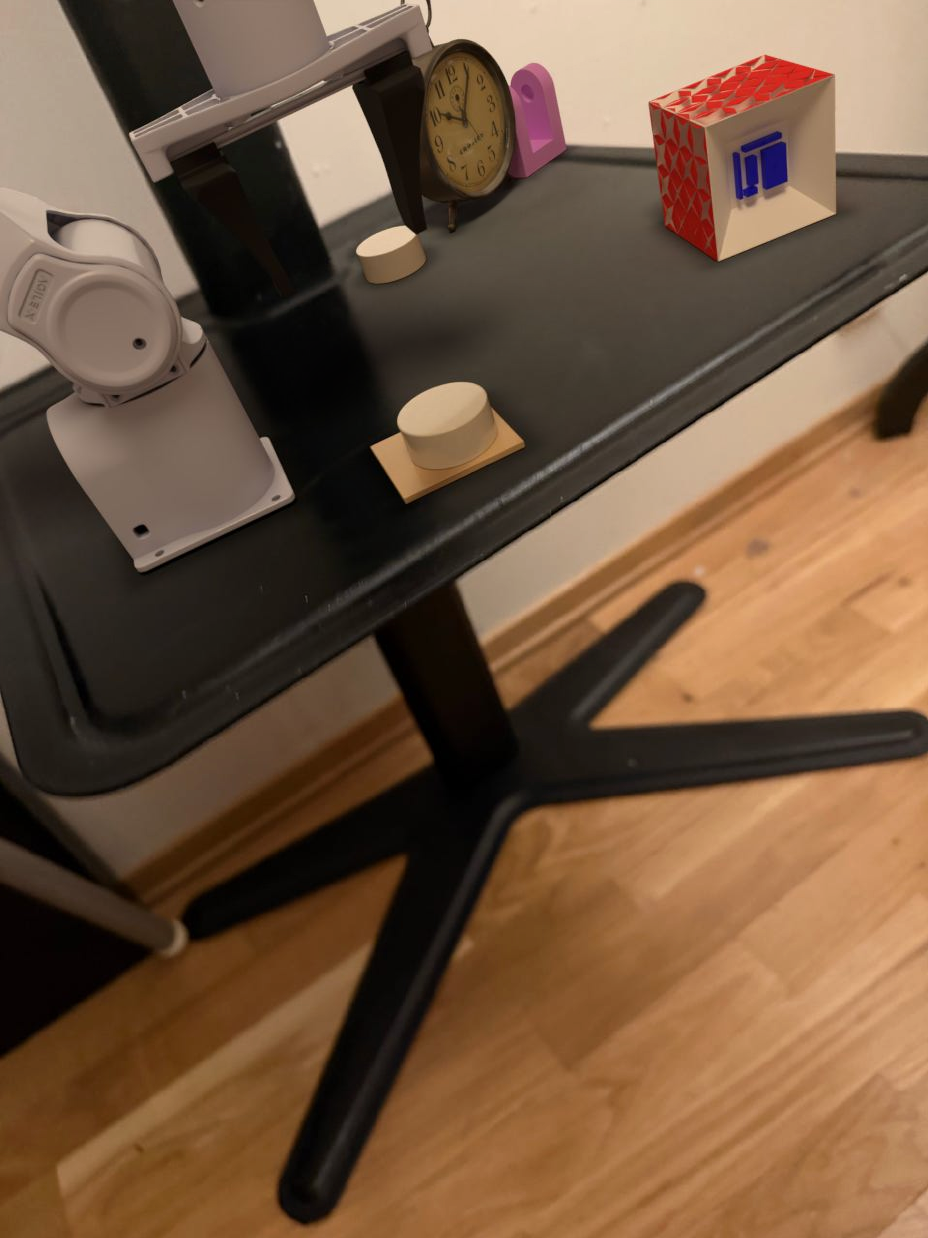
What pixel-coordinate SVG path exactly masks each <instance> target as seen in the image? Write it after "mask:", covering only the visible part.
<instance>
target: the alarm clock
mask: <svg viewBox="0 0 928 1238" xmlns="http://www.w3.org/2000/svg"><path fill="white" fill-rule="evenodd" d="M425 2H426V6H427V21H426V23H425V26H426V29H427V32H428V35H429V39H430V42H431V45H432V49H433V50H432V51H431V52H429V53H427V54H425V55H423V56H421V57H419V58H416V59H412V62H413V65H414V66H417V67H419V68H421V71H422V74H423V78H424V83H425V98H424V105H423V112H422V122H421V134H420V179H421V191H422V197H423V198H425V199H427V200H429V201H432V202H434V203H438V204H439V203H440V204H448V205H447V207H448V208H447V214H448V225H447V230H448V232H454V231H456V225H455V221H456V218H457V215H458V214H457V213H458V204H459V203H462V202H469V201H471V202H472V201H474V202H475V201H480V200H484V199H486V198H488V197H490V196H491V195H492V194H494V193H495V192H496V191H497V190H498V189H499V187H500V186H502V184H503V182H504V180H505V179H506V181H508V183H510V184H511V183H514V182H515V177H513V175H510V174H509V173H508V170H509V168H510V165H511V161H512V157H513V153H514V148H515V139H516V121H515V111H514V105H513V100H512V96H511V92H510V89H509V86H510V85H509V83H508V80H507V79H506V76H505V74H504V72H503V69H502V68H501V67H500V65H499V64H498V62H497V61H496V59H495V57H493V55H492V54H491V53H490V52H489V51H488V50H487V49H486V48H485V47H483V46H482V45H481V44H479V43H478V42H476V41H474V40H471V39H468V38H467V39H466V38H457V39H451V40H450V41H447V42H444V43H440V44H436V45H434V43H433V40H432V38H431V36H430V34H429V33H430V30H429V28H430V26H431V24H432V18H433V12H432V10H433V9H432V3H431V2H432V1H431V0H425ZM405 3H406V0H400V5H402V4H405ZM508 85H509V86H508Z"/></svg>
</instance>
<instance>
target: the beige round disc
mask: <svg viewBox="0 0 928 1238" xmlns="http://www.w3.org/2000/svg"><path fill="white" fill-rule="evenodd" d="M422 243H423V242H422V240H421V237H420V233H419V234H417V235H416V234H415V233H413V232H412V231H411V230H410V229H409V228H407V227H406V226H405V225H399V226H394V227H393V226H392V227H390V228H386V229H383V230H381V231H379V232H377V233H375V234H372V235H371V236H369V237H367V238H366V239H364V240H363V241H362V242H361V243H360V244H359V245H358V246H357V247H356V250H355V253H356V256H357V259H358V261H359V264H360V266H361V269H362V272H363V274H364V278H365V280H366V281H367V282H368V283H371V284H376V285H377V284H379V285H381V284H387V283H393V282H395V281H398V280H402V279H404V278H406V277H408V276H410V275H412V274H414V273H415V272H417V271H418V270H419V269H421V268H422V267H423V266H424V264H425V263H426V261H427V256H426V252H425V249H424V246H423V244H422Z"/></svg>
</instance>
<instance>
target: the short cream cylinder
mask: <svg viewBox="0 0 928 1238" xmlns="http://www.w3.org/2000/svg"><path fill="white" fill-rule="evenodd" d="M491 408H492V406H491V401H490V399H489V396H488V393H487V391H486V390H485V389H484V387H482V386H481V385H479V384H477V383H474V382H470V381H469V382H468V381H455V382H448V383H444V384H440V385H437V386H434V387H431V388H428V389H427V390H424V391H423V392H421V393H419V394H417V395H416V396H415V397H413V398H412V399H410V400H409V401H408V402H406V404H405V405H404V406H403V407H402V408H401V410H400V411H399V412H398V415H397V418H396V425H397V428H398V431H399V433H401V436H402V438H403V441H404V444H405V446H406V449H407V451H408V454H409V456H410V458H411V460H412V461H413V463H414V464H416V465H417V466H419V467H421V468H425V469H431V470H441V469H448V468H453V467H456V466H459V465H462V464H465V463H467V462H469V461H471V460H473V459H475V458H477V457H478V456H480V455H481V454H483V453H484V452H485V451H486V450H487V449H488V448H489V447H490V446H491V445H492V444H493V442H494V440H495V439H496V436H497V425H496V422H495V419H494V415H493V412H492V409H493V408H492V409H491Z"/></svg>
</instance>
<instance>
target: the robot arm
mask: <svg viewBox="0 0 928 1238" xmlns="http://www.w3.org/2000/svg"><path fill="white" fill-rule="evenodd" d="M172 2H173V4H174V7H175V9H176V12H177V13H178V15H179V17H180V19H181V23H182V24H183V26H184V28H185V30H186V33H187V35H188V37H189V39H190V41H191V43H192V46H193V48H194V49H195V52H196V54H197V56H198V58H199V61H200V63H201V65H202V67H203V69H204V71H205V74H206V76H207V78H208V80H209V82H210V85H211V86H212V89H210V90H208V91H206V92H204V93H203V94H200V95H199V96H197V97H195V98H193V99H192V100H190V101H188V102H186V103H184V104H182V105H181V106H179V107H177V108H175V109H173V110H172V111H169V112H168V113H166V114H165V115H163V116H161V117H158V118H157V119H155V120H152V121H151V122H149V123H147V124H145V125H143V126H141V127H139V128H137V129H135V130H132V131H131V132H129V134H128V137H129V138H130V139H129V140H130V142H131V143H132V146H133V147H134V149H135V151H136V153H137V154H138V156H139V159H140V161H141V162H142V164H143V165H144V167H145V169H146V172H147V174H148V175H149V177H150V179H151V180H152V182H153V183H158V182H160V181H162V180H163V179H166V178H168V177H170V176H172V175H173V174H174V173H175V175H176V177H177V178H178V181H179V183H180V185H181V186H182V189H183V190H184V191H185V192H186V193H187V194H188V195H189V196H190V197H191V198H192V199H193V200H194V201H195V202H196V203H197V204H199V205H200V206H201V207H202V208H204V210H205V211H207V212H208V213H209V214H210V215H211V216H213V217H214V218H215V219H216V220H217V221H218V222H219V223H220V224H221V225H222V226H223V227H224V228H226V229H227V230H228V231H229V232H230V233H231V234H232V235H233V236H234V237H235V238H236V239H237V240H238V241H239V242H240V243H241V244H242V246H243V247H244V248H245V249H246V250H247V251H248V252H249V253H250V254H251V255H252V256H253V258H254V259H255V260H256V261H257V263H259V264H258V265H260V266H261V267H262V269H263V270H264V271H265V272H266V274H267V275H268V277H269V278H270V279H271V281H272V283H273V285H274V287H275V289H276V290H277V293H278V294H279V295H280V296H281V298H282V300H285V299H287V298H289V297H292V296H294V295H296V291H295V289H294V287H293V284H292V283H291V279H290V277H289V276H288V274H287V272H286V270H285V269H284V267H283V265H282V264H281V262H280V260H279V258H278V257H277V255H276V253H275V252H274V250H273V248H272V246H271V245H270V243H269V241H268V239H267V237H266V235H265V234H264V232H263V229H262V226H261V225H260V222H259V220H258V218H257V216H256V214H255V212H254V209H253V207H252V205H251V203H250V200H249V198H248V196H247V193H246V192H245V189H244V187H243V185H242V183H241V181H240V178H239V176H238V173H237V172H236V171H235V169H234V168H233V167H232V165H231V163H230V161H229V159H228V157H227V155H226V154H225V153H224V152H223V150H222V149H221V148H224V147H225V146H227V145H229V144H231V143H234V142H235V141H238V140H240V139H242V138H245V137H246V136H249V135H251V134H252V133H255V132H257V131H260V130H261V129H263V128H265V127H267V126H270V125H271V124H274V123H276V122H278V121H280V120H282V119H284V118H286V117H289V116H290V115H293V114H295V113H297V112H299V111H301V110H303V109H305V108H308V107H310V106H312V105H314V104H316V103H318V102H320V101H322V100H324V99H326V98H329V97H331V96H333V95H335V94H337V93H340V92H342V91H343V90H345V89H347V88H349V87H351V89H352V91H353V94H354V96H355V98H356V100H357V102H358V104H359V107H360V109H361V112H362V113H363V114H362V115H363V116H364V119H365V120H366V123H367V125H368V127H369V130H370V132H371V135H372V137H373V140H374V142H375V144H376V147H377V149H378V152H379V155H380V157H381V160H382V163H383V166H384V169H385V173H386V175H387V179H388V183H389V186H390V188H391V191H392V192H391V193H392V195H393V198H394V201H395V205H396V208H397V210H398V213H399V215H400V217H401V219H402V222H403V224H404V225H403V226H406V227H407V228H409V229H410V230H411V231H412V232H413V233H415V234H416V235H417V234H419V235H420V234H421V233H423V232H426V231H427V230H428V224H427V219H426V216H425V210H424V201H423V196H422V191H421V179H420V134H421V122H422V112H423V105H424V98H425V83H424V78H423V74H422V71H421V68H419V67H417V66H414V65H413V62H412V59H416V58H419V57H421V56H423V55H425V54H427V53H429V52H431V51H432V50H433V49H432V45H431V42H430V39H429V36H430V34H429V35H428V32H427V29H426V26H425V25H426V22H425V19H424V16H423V13H422V9H421V6H420V5H419V4H415V3H409V2H405V4H402V5H401V4H400V5H398V6H395V7H394V8H392V9H389V10H387V11H384V12H382V13H380V14H378V15H375V16H373V17H370V18H368V19H365V20H363V21H360V22H358V23H355V24H353V25H351V26H348V27H345V28H343V29H341V30H338V31H336V32H332V33H331V34H328V35H327V33H326V29H325V28H324V25H323V21H322V19H321V16H320V14H319V11H318V9H317V5H316V3H315V1H314V0H172ZM321 82H322V83H321ZM319 83H320V84H319ZM262 110H263V111H262ZM259 111H260V112H259ZM257 112H259V113H257ZM254 113H256V114H255V115H253V116H252V114H254ZM179 309H180V308H179V307H178V304H177V302H176V300H175V298H174V296H173V295H172V293H171V292H170V291H169V289H168V288H167V286H166V284H165V282H164V279H163V275H162V269H161V265H160V262H159V259H158V257H157V255H156V253H155V251H154V249H153V247H152V246H151V245H150V243H149V242H148V240H146V238H145V237H144V236H143V235H142V234H141V233H140V232H139V231H137V229H136V228H134V227H133V226H131V225H130V224H128V223H127V222H124V220H121V219H119V218H116V217H113V216H111V215H107V214H103V213H95V212H94V213H93V212H74V211H68V210H65V209H61V208H59V207H56V206H54V205H52V204H51V203H48V202H46V201H45V200H42V199H41V198H39V197H36V196H34V195H32V194H29V193H25V192H22V191H18V190H16V189H12V188H8V187H4V186H0V332H2V333H5V334H7V335H10V336H12V337H14V338H16V339H19V340H20V341H23V342H25V343H26V344H28V345H29V346H31V347H33V348H34V349H35V350H37V352H39V354H42V355H43V356H44V357H45V359H46V361H48V362H49V363H50V365H52V367H54V368H55V370H56V371H57V372H58V373H60V374H61V376H63V377H64V378H66V379H67V380H68V381H70V382H72V387H71V388H72V390H73V392H72V393H71V394H70V395H68V396H67V397H65V398H64V399H62V400H60V401H58V402H56V403H55V404H52V406H50V407H49V408H48V409H47V410H46V422H47V424H48V428H49V431H50V434H51V436H52V438H53V439H52V440H53V441H54V443H55V445H56V447H57V449H58V451H59V453H60V455H61V456H62V458H63V460H64V462H65V464H66V466H67V467H68V469H69V471H70V472H71V474H72V475H73V477H74V478H75V480H76V482H77V483H78V484H79V485H80V487H81V488H82V490H83V491H84V492H85V494H86V495H87V497H88V498H89V500H90V501H91V503H92V504H93V505H94V506H95V508H96V509H97V511H98V512H99V514H100V515H101V516H102V518H103V519H104V521H105V522H106V523H107V525H108V527H109V528H110V529H111V531H112V532H113V533H114V535H115V536H116V537H117V539H118V540H119V541H120V543H121V545H122V547H124V549H125V550H126V551H127V553H128V554H129V556H130V557H131V558H132V560H133V565H134V568H135V569H136V571H137V572H138V573H146V572H148V571H150V570H152V569H155V568H157V567H159V566H161V565H163V564H165V563H167V562H169V561H171V560H174V559H176V558H178V557H180V556H181V555H184V554H186V553H188V552H190V551H193V550H194V549H196V548H199V547H201V546H203V545H206V544H207V543H209V542H212V541H213V540H215V539H217V538H220V537H221V536H222V537H223V536H224V535H226V534H228V533H230V532H232V531H235V530H236V529H237V530H238V528H241V527H243V526H245V525H247V524H249V523H251V522H253V521H256V520H258V519H260V518H262V517H264V516H266V515H269V514H271V513H272V512H274V511H277V510H278V509H279V510H280V509H281V508H283V507H285V506H287V505H289V504H291V503H292V502H294V500H295V498H296V494H295V492H294V490H293V488H292V485H291V483H290V481H289V479H288V476H287V474H286V472H285V470H284V467H283V465H282V464H281V461H280V459H279V457H278V455H277V452H276V450H275V448H274V445H273V443H272V442H271V440H270V437H267V436H262V437H259V434H258V433H257V430H256V429H255V427H254V425H253V423H252V421H251V419H250V418H249V416H248V414H247V412H246V409H245V408H244V406H243V404H242V401H241V400H240V398H239V396H238V395H237V393H236V390H235V389H234V386H233V385H232V382H231V380H230V379H229V377H228V375H227V373H226V371H225V370H224V368H223V365H222V364H221V362H220V360H219V358H218V356H217V354H216V352H215V350H214V349H213V346H212V345H211V342H210V340H209V338H208V337H207V335H206V333H205V331H204V330H203V327H202V326H201V325H200V324H199V323H197V322H196V321H192V320H191V319H187V318H184V317H183V316H181V312H180V310H179Z"/></svg>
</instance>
